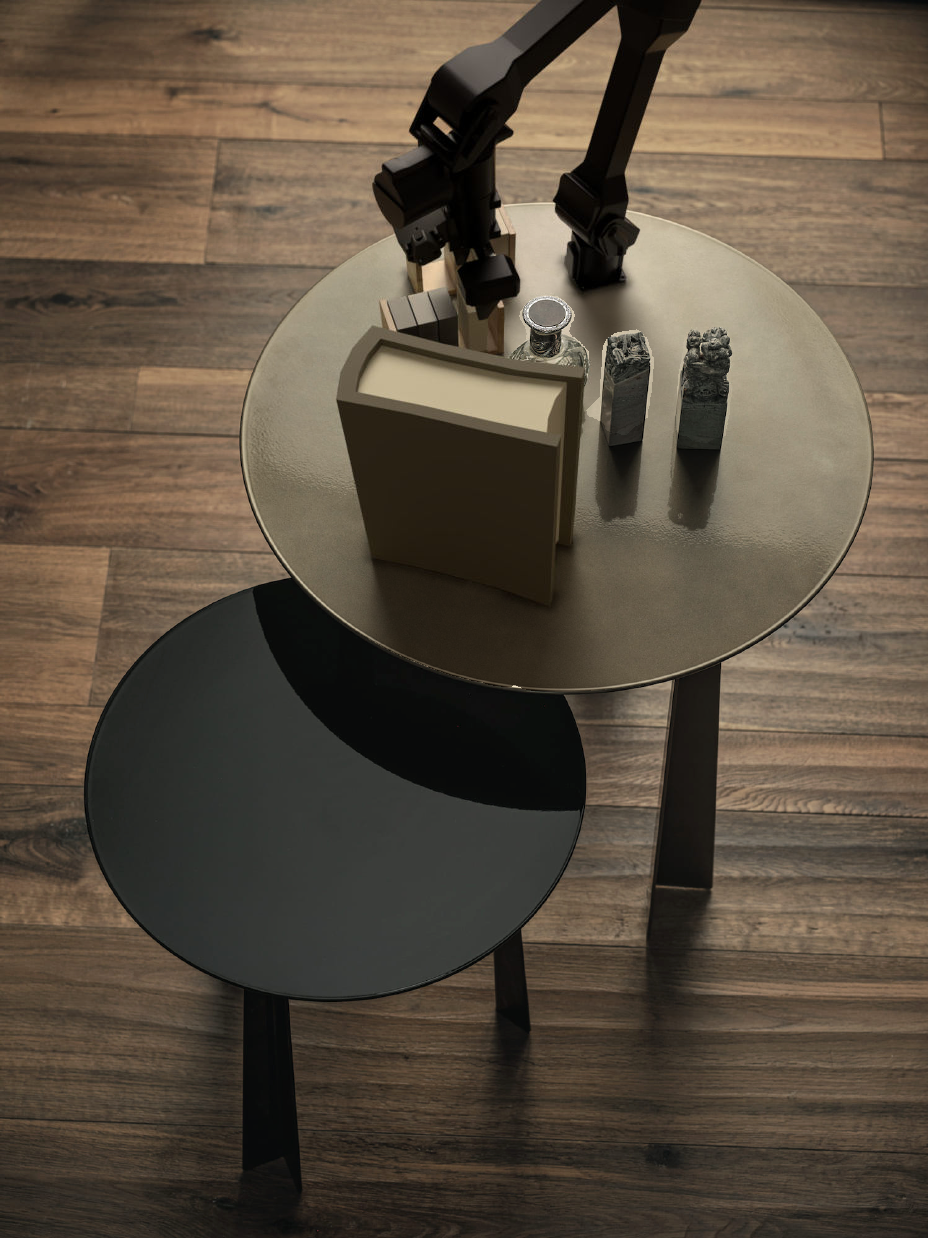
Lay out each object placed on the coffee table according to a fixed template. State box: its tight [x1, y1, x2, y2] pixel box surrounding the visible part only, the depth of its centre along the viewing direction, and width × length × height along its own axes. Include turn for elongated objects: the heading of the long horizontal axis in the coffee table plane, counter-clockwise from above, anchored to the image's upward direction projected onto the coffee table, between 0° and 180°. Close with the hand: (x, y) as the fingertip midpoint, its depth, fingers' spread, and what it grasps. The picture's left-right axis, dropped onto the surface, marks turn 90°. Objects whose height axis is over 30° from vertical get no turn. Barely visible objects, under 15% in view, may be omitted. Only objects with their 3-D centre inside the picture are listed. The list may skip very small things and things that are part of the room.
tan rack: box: [378, 287, 506, 355], centre depth 133 cm, size 14×6×8 cm, turn 106°
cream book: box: [456, 284, 487, 352], centre depth 133 cm, size 2×5×7 cm, turn 16°
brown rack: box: [405, 203, 517, 296], centre depth 139 cm, size 13×6×8 cm, turn 106°
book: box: [335, 325, 587, 607], centre depth 111 cm, size 22×9×28 cm, turn 72°
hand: (471, 291), depth 130 cm, fingers open, 9 cm apart
